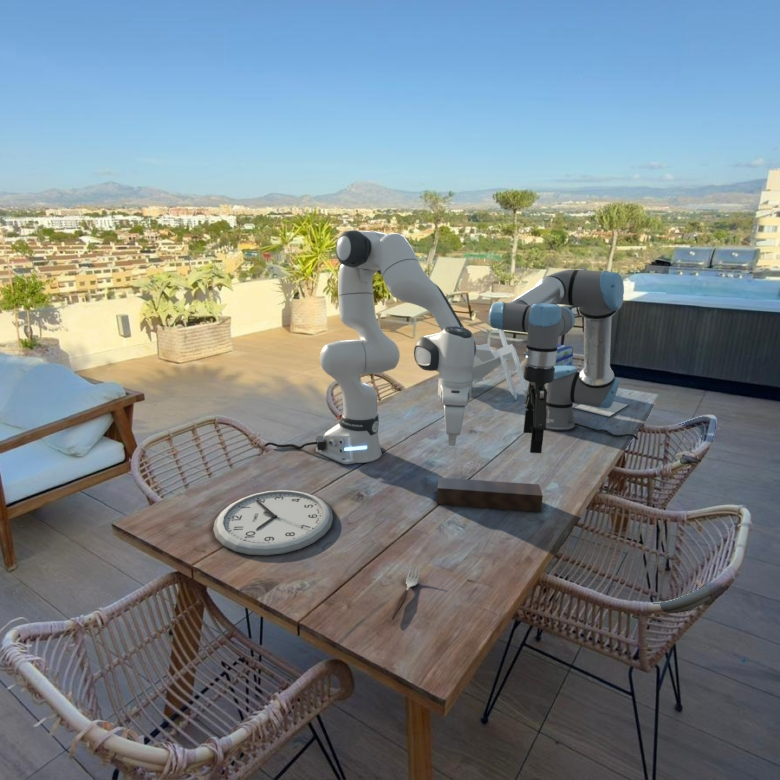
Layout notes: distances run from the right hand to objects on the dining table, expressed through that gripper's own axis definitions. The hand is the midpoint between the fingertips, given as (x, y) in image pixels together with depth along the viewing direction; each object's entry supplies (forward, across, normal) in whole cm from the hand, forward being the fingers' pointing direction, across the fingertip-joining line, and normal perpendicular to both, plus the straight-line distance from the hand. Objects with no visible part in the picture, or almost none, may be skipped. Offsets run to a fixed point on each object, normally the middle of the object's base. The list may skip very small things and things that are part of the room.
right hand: (531, 442), depth 140 cm
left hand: (0, +1, -21) cm, 21 cm away
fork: (+18, +43, -30) cm, 55 cm away
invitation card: (+19, -90, +44) cm, 102 cm away
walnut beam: (+19, +1, -10) cm, 21 cm away
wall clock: (+18, +19, -66) cm, 71 cm away
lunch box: (+19, -114, +25) cm, 119 cm away
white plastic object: (+19, -102, -8) cm, 104 cm away
